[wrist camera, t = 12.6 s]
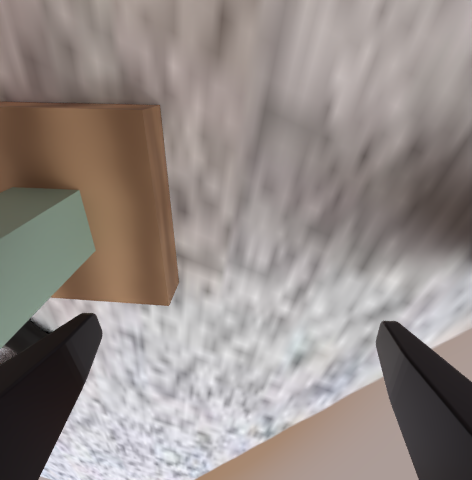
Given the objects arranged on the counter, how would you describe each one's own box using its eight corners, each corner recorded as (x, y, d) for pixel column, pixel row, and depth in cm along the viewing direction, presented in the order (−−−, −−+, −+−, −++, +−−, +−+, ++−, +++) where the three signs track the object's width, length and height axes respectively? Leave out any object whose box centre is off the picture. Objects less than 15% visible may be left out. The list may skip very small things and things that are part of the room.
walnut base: (159, 105, 18) (142, 110, 16) (178, 282, 25) (169, 305, 23) (-47, 100, 19) (-95, 104, 17) (26, 272, 26) (0, 293, 24)
